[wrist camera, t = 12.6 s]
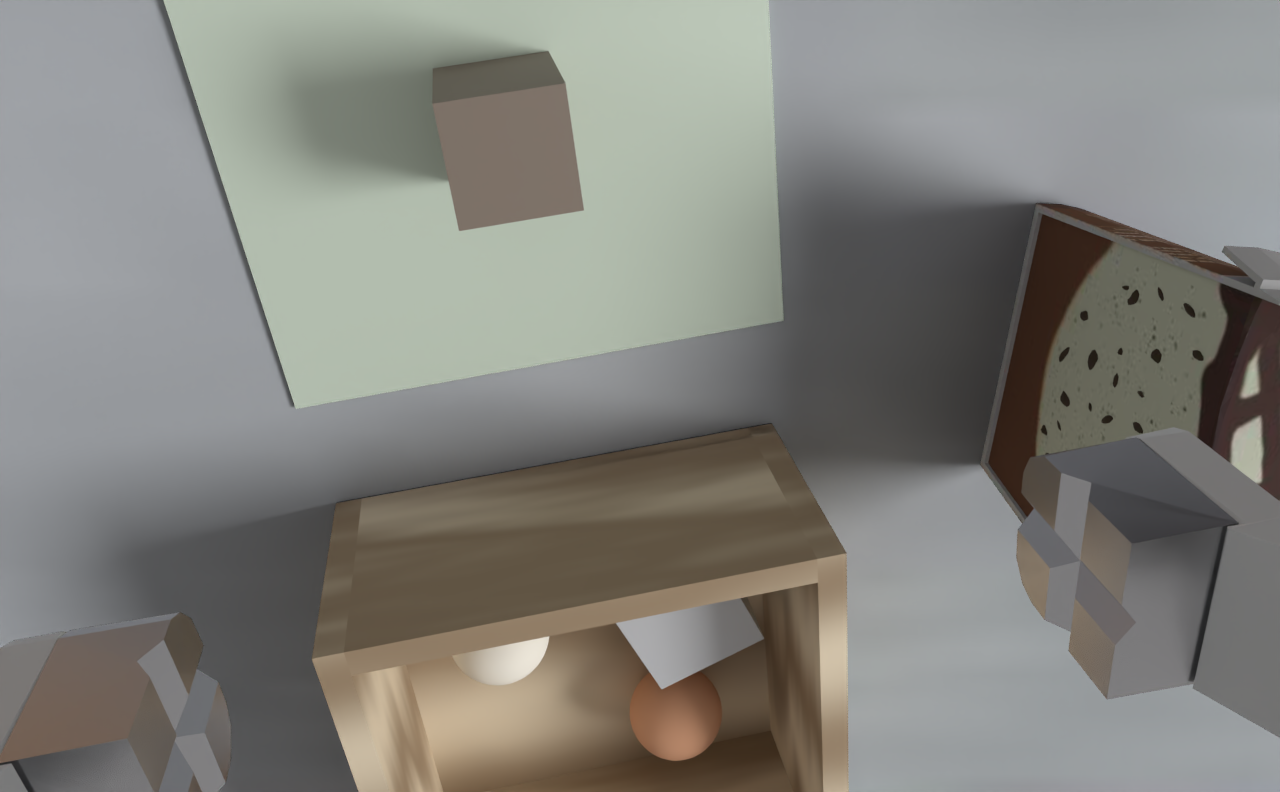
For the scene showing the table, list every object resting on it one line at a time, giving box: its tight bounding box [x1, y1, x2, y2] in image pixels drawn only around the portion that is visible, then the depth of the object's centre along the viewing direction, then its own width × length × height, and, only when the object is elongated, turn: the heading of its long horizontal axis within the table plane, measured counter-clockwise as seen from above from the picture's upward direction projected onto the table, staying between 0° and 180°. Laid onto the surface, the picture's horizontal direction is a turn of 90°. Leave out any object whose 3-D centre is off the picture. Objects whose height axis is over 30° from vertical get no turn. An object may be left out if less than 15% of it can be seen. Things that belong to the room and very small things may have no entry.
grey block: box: [616, 597, 764, 689], centre depth 33 cm, size 4×4×4 cm
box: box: [312, 424, 849, 792], centre depth 33 cm, size 14×14×7 cm
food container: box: [980, 203, 1280, 693], centre depth 29 cm, size 12×6×10 cm, turn 179°
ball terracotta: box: [630, 671, 722, 761], centre depth 35 cm, size 3×3×3 cm
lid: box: [164, 0, 784, 409], centre depth 26 cm, size 15×15×5 cm
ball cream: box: [452, 636, 549, 686], centre depth 33 cm, size 3×3×3 cm
